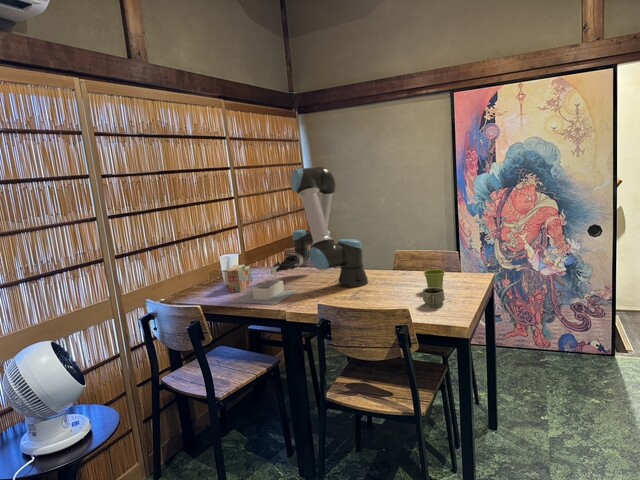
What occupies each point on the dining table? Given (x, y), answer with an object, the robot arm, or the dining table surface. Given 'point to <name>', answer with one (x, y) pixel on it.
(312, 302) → the dining table surface
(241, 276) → the multicoloured rectangular box
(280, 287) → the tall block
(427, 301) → the vessel
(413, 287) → the dining table surface
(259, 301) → the rubber mat
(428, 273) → the plant pot
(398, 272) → the dining table surface
